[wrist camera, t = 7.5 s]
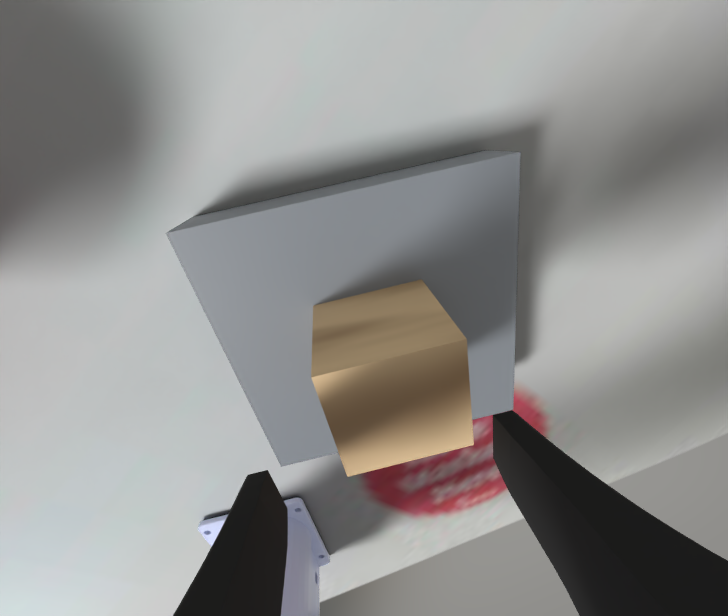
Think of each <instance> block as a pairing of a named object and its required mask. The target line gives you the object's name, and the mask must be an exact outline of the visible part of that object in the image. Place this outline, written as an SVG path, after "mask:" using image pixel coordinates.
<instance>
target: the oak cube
mask: <svg viewBox="0 0 728 616" xmlns="http://www.w3.org/2000/svg"><path fill="white" fill-rule="evenodd" d="M311 378H312V381H313V384H314V387H315V389H316V392H317V395H318V398H319V400H320V403H321V406H322V408H323V411H324V414H325V417H326V419H327V422H328V425H329V428H330V430H331V433H332V436H333V439H334V441H335V444H336V447H337V450H338V452H339V455H340V458H341V460H342V463H343V466H344V469H345V471H346V474H347V477H349V476H353V475H357V474H361V473H365V472H369V471H373V470H377V469H381V468H385V467H389V466H393V465H396V464H400V463H404V462H408V461H412V460H416V459H420V458H424V457H428V456H432V455H436V454H440V453H444V452H448V451H452V450H456V449H460V448H464V447H468V446H472V445H474V441H473V425H472V410H471V395H470V380H469V365H468V350H467V339H466V337H465V336H464V335H463V333H462V332H461V331H460V329H459V328H458V327H457V325H456V324H455V323H454V321H453V320H452V319H451V317H450V316H449V315H448V313H447V312H446V311H445V310H444V308H443V307H442V306H441V304H440V303H439V302H438V300H437V299H436V298H435V296H434V295H433V294H432V292H431V291H430V290H429V288H428V287H427V286H426V284H425V283H424V282H423V280H422V279H421V280H417V281H413V282H408V283H404V284H400V285H396V286H392V287H388V288H384V289H380V290H376V291H372V292H367V293H363V294H359V295H355V296H351V297H347V298H343V299H339V300H335V301H330V302H326V303H322V304H318V305H314V306H313V329H312V365H311Z"/></svg>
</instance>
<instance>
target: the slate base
mask: <svg viewBox="0 0 728 616" xmlns="http://www.w3.org/2000/svg"><path fill="white" fill-rule="evenodd" d="M520 157H521V152H510V151H491V150H484V151H480V152H475V153H471V154H467V155H462V156H458V157H453V158H449V159H445V160H440V161H436V162H432V163H427V164H423V165H418V166H414V167H410V168H405V169H401V170H397V171H392V172H388V173H383V174H379V175H375V176H370V177H366V178H361V179H357V180H353V181H348V182H344V183H340V184H335V185H331V186H326V187H322V188H318V189H313V190H309V191H304V192H300V193H296V194H291V195H287V196H283V197H278V198H274V199H269V200H265V201H261V202H256V203H252V204H248V205H243V206H239V207H234V208H230V209H226V210H221V211H217V212H212V213H208V214H204V215H199V216H195V217H192V218H190V219H189V220H187V221H185V222H184V223H182V224H180V225H179V226H177V227H175V228H174V229H172V230H170V231H169V232H167V233H166V235H167V237H168V239H169V241H170V243H171V245H172V247H173V249H174V251H175V253H176V255H177V257H178V259H179V261H180V263H181V265H182V267H183V269H184V271H185V273H186V275H187V277H188V279H189V281H190V283H191V285H192V287H193V289H194V291H195V293H196V295H197V297H198V299H199V301H200V303H201V305H202V307H203V310H204V312H205V314H206V316H207V318H208V320H209V322H210V324H211V326H212V328H213V330H214V332H215V334H216V336H217V338H218V340H219V342H220V344H221V346H222V348H223V350H224V352H225V354H226V356H227V358H228V360H229V362H230V364H231V366H232V368H233V370H234V372H235V374H236V376H237V378H238V380H239V382H240V384H241V386H242V388H243V390H244V392H245V394H246V397H247V399H248V401H249V403H250V405H251V407H252V409H253V411H254V413H255V415H256V417H257V419H258V421H259V423H260V425H261V427H262V429H263V431H264V433H265V435H266V437H267V439H268V441H269V443H270V445H271V447H272V449H273V451H274V453H275V455H276V457H277V459H278V461H279V463H280V465H281V467H282V466H286V465H290V464H294V463H298V462H302V461H306V460H310V459H315V458H319V457H323V456H327V455H331V454H335V453H339V452H338V450H337V447H336V444H335V441H334V439H333V436H332V433H331V430H330V428H329V425H328V422H327V419H326V417H325V414H324V411H323V408H322V406H321V403H320V400H319V398H318V395H317V392H316V389H315V387H314V384H313V381H312V378H311V365H312V329H313V306H314V305H318V304H322V303H326V302H330V301H335V300H339V299H343V298H347V297H351V296H355V295H359V294H363V293H367V292H372V291H376V290H380V289H384V288H388V287H392V286H396V285H400V284H404V283H408V282H413V281H417V280H421V279H422V280H423V282H424V283H425V284H426V286H427V287H428V288H429V290H430V291H431V292H432V294H433V295H434V296H435V298H436V299H437V300H438V302H439V303H440V304H441V306H442V307H443V308H444V310H445V311H446V312H447V313H448V315H449V316H450V317H451V319H452V320H453V321H454V323H455V324H456V325H457V327H458V328H459V329H460V331H461V332H462V333H463V335H464V336H465V337H466V339H467V350H468V365H469V380H470V395H471V410H472V420H473V419H477V418H481V417H485V416H489V415H494V414H498V413H502V412H506V411H510V410H513V399H514V364H515V330H516V295H517V261H518V226H519V191H520Z"/></svg>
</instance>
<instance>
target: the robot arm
mask: <svg viewBox="0 0 728 616" xmlns="http://www.w3.org/2000/svg"><path fill="white" fill-rule="evenodd" d="M493 458H494V460H495V462H496V464H497V467H498V469H499V471H500V473H501V475H502V478H503V480H504V482H505V484H506V486H507V488H508V490H509V492H510V494H511V496H512V497H513V499H514V501H515V502H516V504H517V506H518V507H519V509H520V511H521V513H522V514H523V516H524V518H525V519H526V521H527V523H528V524H529V526H530V527H531V529H532V531H533V532H534V534H535V536H536V538H537V539H538V541H539V543H540V544H541V546H542V548H543V549H544V551H545V553H546V555H547V556H548V558H549V559H550V561H551V563H552V564H553V566H554V568H555V570H556V571H557V573H558V575H559V577H560V579H561V580H562V582H563V584H564V586H565V588H566V589H567V591H568V593H569V595H570V597H571V599H572V601H573V603H574V605H575V607H576V609H577V611H578V613H579V615H580V616H728V561H727V560H726V559H724V558H722V557H720V556H718V555H717V554H715V553H713V552H711V551H710V550H708V549H706V548H704V547H703V546H701V545H699V544H698V543H696V542H694V541H693V540H691V539H690V538H688V537H686V536H684V535H683V534H681V533H680V532H678V531H676V530H675V529H673V528H671V527H670V526H668V525H667V524H665V523H663V522H662V521H660V520H659V519H657V518H656V517H654V516H653V515H651V514H649V513H648V512H646V511H645V510H643V509H642V508H640V507H639V506H637V505H636V504H634V503H633V502H631V501H630V500H628V499H627V498H625V497H624V496H623V495H621V494H620V493H618V492H617V491H615V490H614V489H613V488H611V487H610V486H608V485H607V484H605V483H604V482H603V481H601V480H600V479H598V478H597V477H596V476H594V475H593V474H592V473H590V472H589V471H588V470H586V469H585V468H584V467H582V466H581V465H580V464H578V463H577V462H576V461H574V460H573V459H572V458H570V457H569V456H568V455H567V454H565V453H564V452H563V451H561V450H560V449H559V448H558V447H556V446H555V445H554V444H553V443H551V442H550V441H549V440H548V439H546V438H545V437H544V436H543V435H541V434H540V433H539V432H538V431H537V430H535V429H534V428H533V427H532V426H531V425H529V424H528V423H527V422H526V421H525V420H523V419H522V418H521V417H520V416H519V415H518V414H516V413H515V412H514V411H512V410H511V411H507V412H503V413H499V414H495V415H493ZM198 530H199V532H200V533H201V534H202V535H203V537H204V538H205V539H206V540H207V542H208V543H209V544H210V545H211V549H210V551H209V553H208V555H207V557H206V559H205V560H204V562H203V564H202V566H201V568H200V570H199V571H198V573H197V575H196V577H195V578H194V580H193V582H192V584H191V585H190V587H189V589H188V591H187V592H186V594H185V596H184V598H183V599H182V601H181V603H180V605H179V606H178V608H177V610H176V611H175V613H174V615H173V616H319V566H323V565H327V564H328V563H329V562H330V556H329V554H328V552H327V550H326V548H325V546H324V543H323V541H322V539H321V537H320V535H319V533H318V531H317V529H316V527H315V525H314V523H313V521H312V519H311V516H310V514H309V512H308V510H307V508H306V506H305V504H304V502H303V500H302V499H301V498H292V499H288V500H284V501H283V499H282V497H281V495H280V493H279V491H278V489H277V487H276V485H275V483H274V482H273V480H272V478H271V476H270V474H269V472H268V470H266V471H262V472H258V473H254V474H250V475H248V476H247V477H246V479H245V481H244V483H243V485H242V487H241V489H240V491H239V493H238V496H237V498H236V500H235V502H234V504H233V506H232V508H231V510H230V512H229V514H227V515H223V516H219V517H215V518H211V519H207V520H203V521H201V522H200V523H199V526H198Z"/></svg>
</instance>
